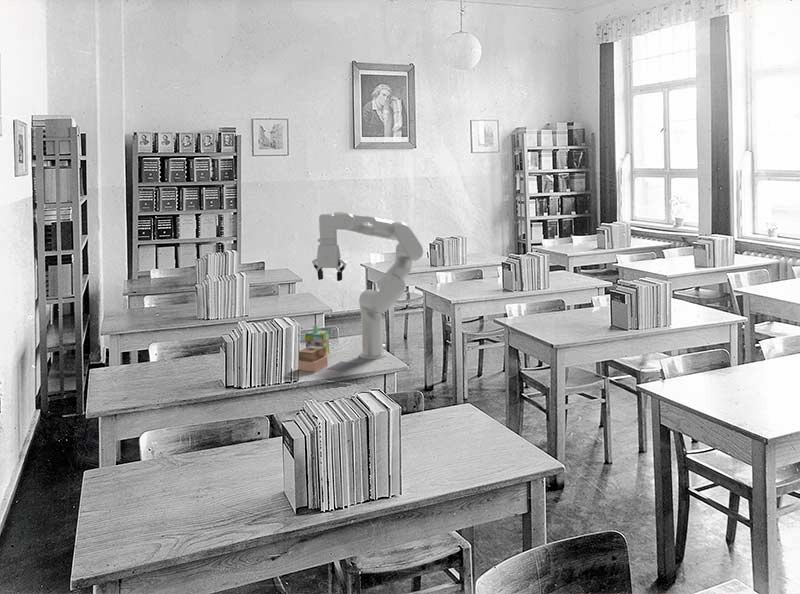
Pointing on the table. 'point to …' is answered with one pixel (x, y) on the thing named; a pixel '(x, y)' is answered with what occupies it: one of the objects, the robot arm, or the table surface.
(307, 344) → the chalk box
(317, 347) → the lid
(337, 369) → the mat
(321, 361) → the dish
